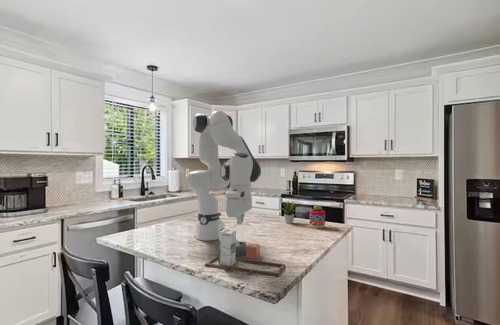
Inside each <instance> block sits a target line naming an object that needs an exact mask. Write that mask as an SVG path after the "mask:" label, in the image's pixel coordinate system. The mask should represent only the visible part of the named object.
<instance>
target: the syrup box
mask: <svg viewBox="0 0 500 325" xmlns="http://www.w3.org/2000/svg"><path fill="white" fill-rule="evenodd" d="M236 240H237V230H234V229H227V228H225V230H223V231H221V232H219V239H218V256H219V259H218V265H225V266H232V267H233V266H234V265H235V264H236V262H237V261H236V258H237V257H236Z"/></svg>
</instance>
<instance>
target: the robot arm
mask: <svg viewBox="0 0 500 325" xmlns="http://www.w3.org/2000/svg"><path fill="white" fill-rule="evenodd" d="M192 119H193V120H192V126H193V129H194V131H195V132H196V133H198V134H199V139H198V140H199V141H198V159H199V161H200V162H201V163H202V164H204V165H206V166H207V170H204V169H203V170H194V171H189V172H188V173H187V175H186V178H185V182H186V186H187V188H189V189H190V190H191V191H192V192H193V193H194V194H195V195H196V199H197V203H198V213H197V221H196V224H195V225H196V226H195V233H194V234H193V237H195V239H196V240H199V241H215V240H216V241H217V240H219V232H221V231H223V230H225V229H226V225H225V223H224V222H223V221H222V220H221V218H220V216H221V215H222V212H219V200H218V198H217V197H216V196H215V195H212V194H211V193H209V191H210V190H216V189H217V190H219V189H224V188H226V187H228V186H229V188H228V189H227V191H226V192H225V193H224V194H225V196H224V197H225V198H226V201H225V211H226V212H225V213H226V216H227V217H228V218H236V225H239V226H240V225H242V224H244V218H245V214H246V213H247V212H248V211H250V210H252V207H253V199H252V188H251V187H252V183H255V182H256V181H257V180H258V179H259V178H260V176H261V173H262V170H261V165H260V164H259V162H258V161H257V160H256V159H255V157H254V156H253V154H252V151H251V150H250V148H249V146H248V144H247V143H246V141H245V139H244V138H243V137H242V136H241V135H239V134H238V133H237V132H236V130H234V128H233V126H234V122H233V121H234V120H233V119H232V117H231V115H227V113H226V112H225V111H222V110H215V111H213V112H212V113H202V112H201V113H196V114H195V115H194V116H193V118H192ZM219 146H221V147H223V148H229V149H231V150H233V151H235V152H234V153H232V154H231V155H230V156H231V157H230V159H229V160H226V161H224V162H223V163H222V164H221V162H220V159H219Z"/></svg>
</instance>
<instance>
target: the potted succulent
mask: <svg viewBox="0 0 500 325" xmlns="http://www.w3.org/2000/svg"><path fill="white" fill-rule="evenodd" d="M308 219H309V222H308V223H309V228H310V227H311V229H314V228H323V229H325V228H326V211H325V210H323V207H322V205H319V206H318V205H314V206H313V209H310V210H309V216H308ZM324 227H325V228H324Z"/></svg>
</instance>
